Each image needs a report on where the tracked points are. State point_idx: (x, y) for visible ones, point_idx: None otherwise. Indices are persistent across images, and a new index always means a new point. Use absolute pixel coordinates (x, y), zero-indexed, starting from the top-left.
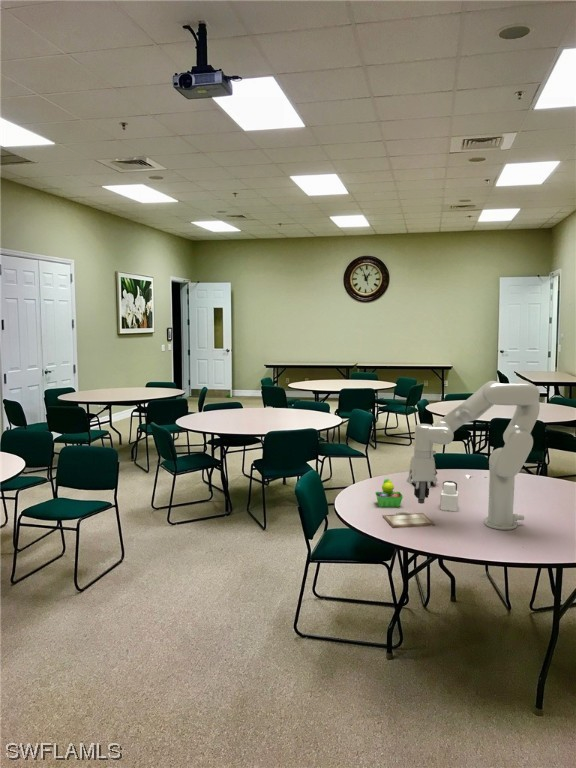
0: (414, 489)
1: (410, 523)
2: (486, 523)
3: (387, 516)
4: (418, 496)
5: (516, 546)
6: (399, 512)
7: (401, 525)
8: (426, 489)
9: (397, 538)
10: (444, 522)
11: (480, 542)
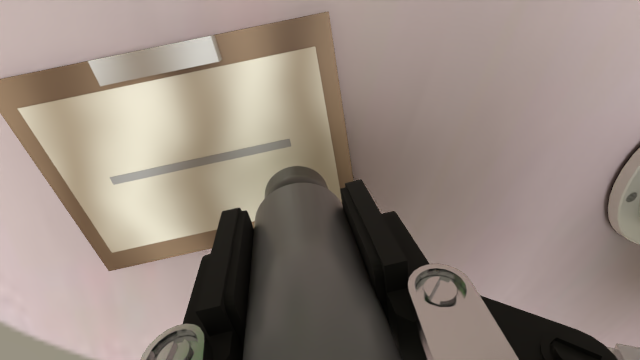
0: (188, 313)
1: (215, 225)
2: (618, 204)
3: (32, 114)
4: None
5: None
6: (119, 64)
7: (160, 253)
8: None
9: None
10: (424, 165)
11: None
